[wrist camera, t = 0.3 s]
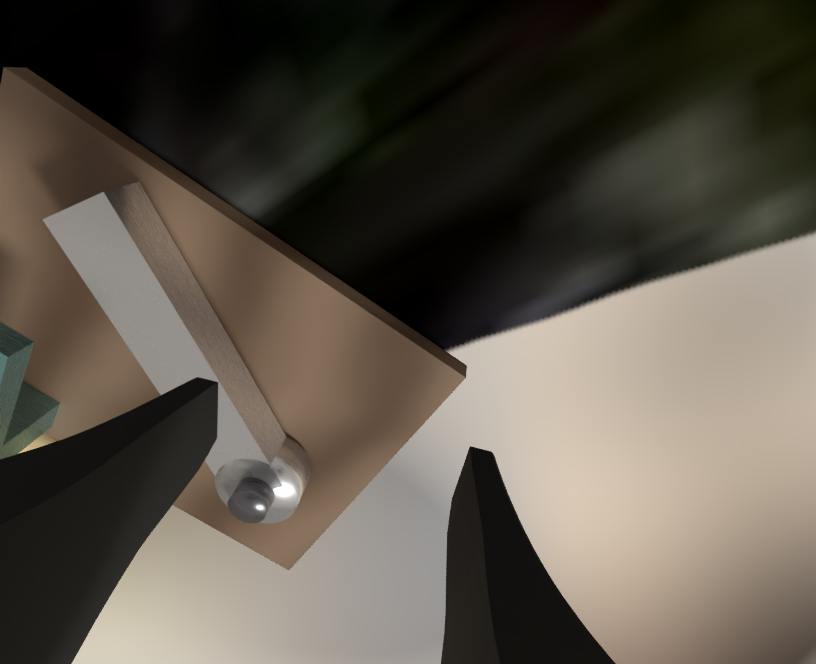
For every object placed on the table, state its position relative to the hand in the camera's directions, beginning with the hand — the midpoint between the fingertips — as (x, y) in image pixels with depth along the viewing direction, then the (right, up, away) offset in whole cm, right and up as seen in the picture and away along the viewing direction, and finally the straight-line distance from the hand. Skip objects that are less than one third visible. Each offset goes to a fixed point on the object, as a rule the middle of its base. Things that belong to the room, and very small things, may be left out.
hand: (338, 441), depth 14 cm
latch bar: (-7, +2, +9) cm, 11 cm away
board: (-9, +1, +10) cm, 14 cm away
